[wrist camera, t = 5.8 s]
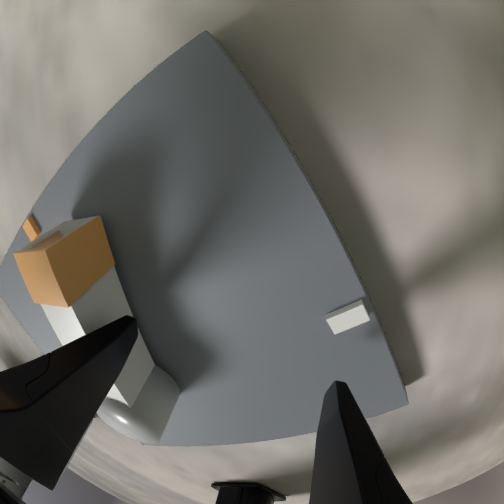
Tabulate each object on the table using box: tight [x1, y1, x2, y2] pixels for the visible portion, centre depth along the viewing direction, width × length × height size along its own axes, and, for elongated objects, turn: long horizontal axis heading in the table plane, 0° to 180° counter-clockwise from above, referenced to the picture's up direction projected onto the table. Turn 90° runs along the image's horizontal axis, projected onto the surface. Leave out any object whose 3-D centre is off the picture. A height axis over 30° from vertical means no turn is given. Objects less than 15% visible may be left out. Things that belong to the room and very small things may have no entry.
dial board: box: [0, 31, 409, 446], centre depth 13 cm, size 18×21×2 cm
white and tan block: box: [13, 215, 180, 444], centre depth 11 cm, size 11×4×3 cm, turn 8°
